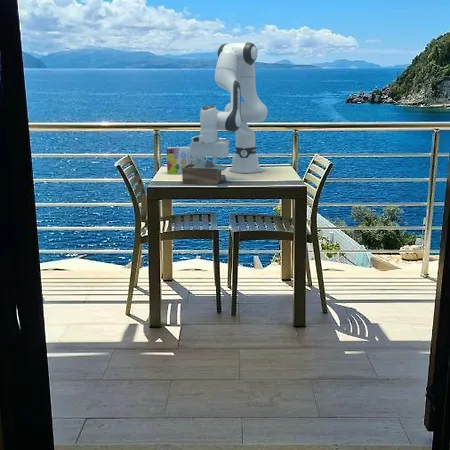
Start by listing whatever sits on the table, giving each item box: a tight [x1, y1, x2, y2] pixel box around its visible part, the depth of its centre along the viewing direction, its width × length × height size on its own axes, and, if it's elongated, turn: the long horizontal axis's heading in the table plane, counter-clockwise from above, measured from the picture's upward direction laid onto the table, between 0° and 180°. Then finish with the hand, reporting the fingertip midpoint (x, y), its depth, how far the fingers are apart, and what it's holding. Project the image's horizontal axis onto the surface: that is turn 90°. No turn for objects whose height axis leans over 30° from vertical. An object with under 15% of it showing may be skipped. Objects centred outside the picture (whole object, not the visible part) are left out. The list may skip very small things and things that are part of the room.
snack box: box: [166, 146, 206, 175], centre depth 328 cm, size 21×6×15 cm, turn 92°
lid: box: [192, 160, 228, 172], centre depth 301 cm, size 10×17×4 cm, turn 78°
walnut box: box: [181, 164, 222, 186], centre depth 303 cm, size 12×18×8 cm, turn 79°
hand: (209, 164), depth 301 cm, fingers closed on lid, 3 cm apart
